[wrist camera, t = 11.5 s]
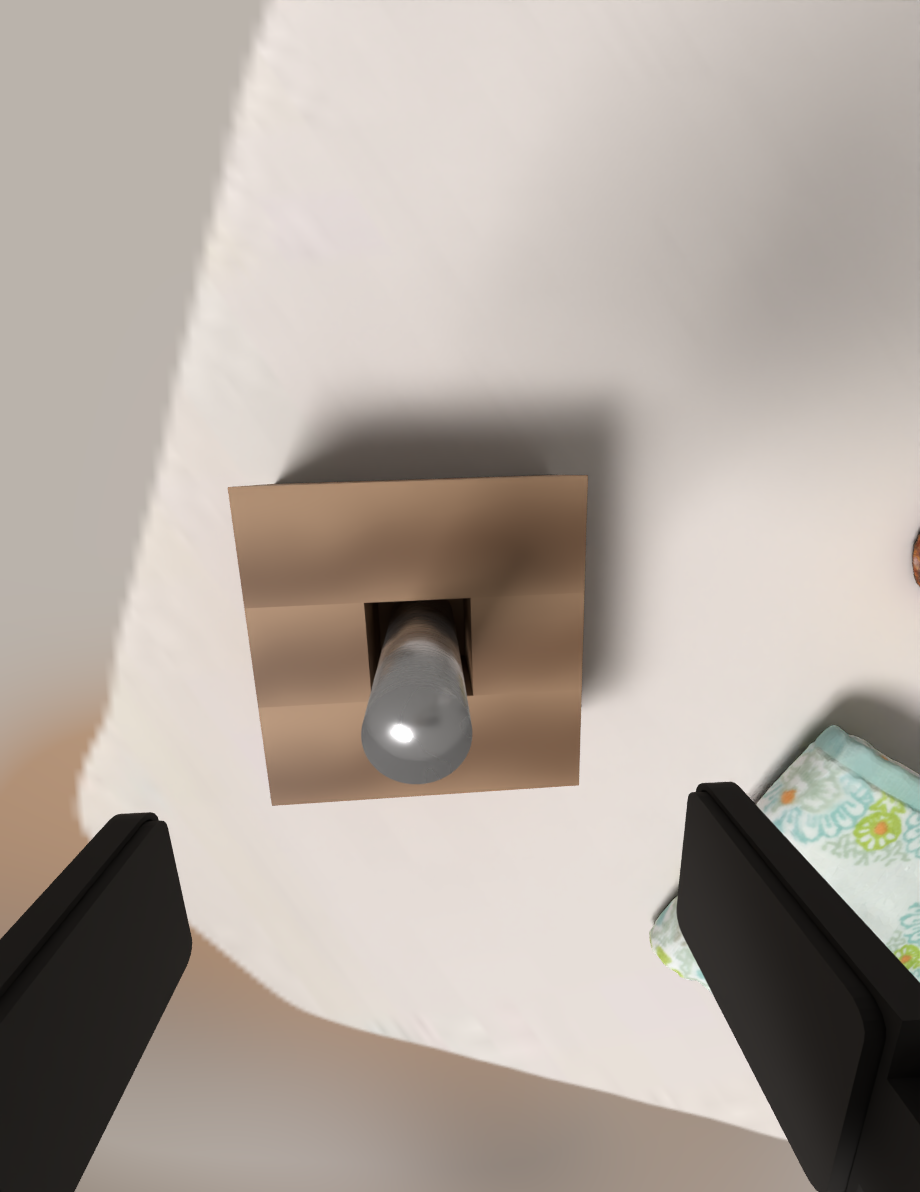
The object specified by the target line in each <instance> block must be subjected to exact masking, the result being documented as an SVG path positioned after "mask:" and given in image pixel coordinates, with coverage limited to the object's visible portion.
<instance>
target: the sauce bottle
mask: <svg viewBox="0 0 920 1192" xmlns="http://www.w3.org/2000/svg"><path fill="white" fill-rule="evenodd" d="M912 564H913V571H914V573H915V574H914V578H915V580H916V583H917V584H918V585H919V586H920V534H919V535H918V537H917V541H916V543H915V544H914V551H913V563H912Z"/></svg>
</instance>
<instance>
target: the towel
mask: <svg viewBox="0 0 920 1192" xmlns="http://www.w3.org/2000/svg"><path fill="white" fill-rule="evenodd" d="M756 805H757V806H758V808H759V809H760V810H761V811H762V812H763V813H764V814H765V815H766V816H767V817H768V818H769V819H770V821H771V822H772V823H773V824H774V825H775V826H776V827H777V828H778V829H779V830H780V831H781V832H782V834H783V835H784V836H785V837H786V838H787V839H788V840H789V841H790V842H791V843H792V844H793V845H794V847H795V848H796V849H797V850H798V851H799V852H800V853H801V854H802V855H803V856H804V857H805V858H806V860H807V861H808V862H809V863H810V864H811V865H812V866H813V867H814V868H815V869H816V870H817V871H818V873H819V874H820V875H821V876H822V877H823V878H824V879H825V880H826V881H827V882H828V883H829V884H830V886H831V887H832V888H833V889H834V890H835V891H836V892H837V893H838V894H839V895H840V896H841V897H842V899H843V900H844V901H845V902H846V903H847V904H848V905H849V906H850V907H851V908H852V909H853V910H854V912H855V913H856V914H857V915H858V916H859V917H860V918H861V919H862V920H863V921H864V922H865V923H866V925H867V926H868V927H869V928H870V929H871V930H872V931H873V932H874V933H875V934H876V935H877V937H878V938H879V939H880V940H881V941H882V942H883V943H884V944H885V945H886V946H887V947H888V948H889V950H890V951H891V952H892V953H893V954H894V955H895V956H896V957H897V958H898V959H899V960H900V961H901V963H902V964H903V965H904V966H905V967H906V968H907V969H908V970H909V971H910V972H911V973H912V974H913V976H914V977H915V978H916V979H917V980H918V981H919V982H920V774H918V773H916V772H915V771H913V770H911V769H910V768H908V767H906V766H905V765H903V764H901V763H900V762H897V761H895V760H892V759H890V758H889V757H887V756H886V755H884V754H883V753H881V752H880V751H878V750H876V749H875V748H874V747H873V746H872V745H871V744H869V743H868V742H867V741H866V740H865V739H861V738H859V737H857V736H854V735H849V734H848V733H846V732H845V731H844V730H842V729H841V728H840V727H839V726H836V725H832V726H830V727H828V728H827V729H825V730H824V731H823V732H822V733H821V734H820V735H819V736H818V737H817V739H816V740H815V742H813V743H811V744H810V745H809V746H808V748H807V749H806V750H805V751H804V752H803V753H802V754H801V755H800V756H799V757H798V758H797V759H796V760H795V761H794V762H793V763H792V764H791V765H790V766H789V767H788V769H787V770H786V771H785V772H784V773H783V774H782V775H781V776H780V778H779V779H778V780H777V781H776V782H775V783H774V784H773V785H772V786H771V787H770V788H769V790H768V791H767V792H766V793H765V794H764V795H763V797H762V798H761V799H760V800H759V801H758V802H757V804H756ZM677 898H678V896H677V897H676V898H675V899H673V900H672V902H671V903H670V904H669V905H668V906H667V907H666V909H665V910H664V911H663V912H662V913H661V914H660V916H659V917H658V919H657V920H656V921H655V925H654V926H653V928H652V929H651V930H650V932H649V935H650V944H651V948H652V950H653V952H654V953H655V954H656V955H657V956H658V957H659V958H660V959H661V961H662V962H663V963H664V964H665V965H666V966H667V967H668V968H670V969H672V970H673V971H676V972H677V973H678V974H679V976H680V977H682V978H684V979H687V980H696V981H698V982H700V983H701V984H702V985H703V986H704V987H705V988H706V989H708V990H709V991H710V992H711V990H710V988H709V986H708V984H707V982H706V980H705V978H704V976H703V974H702V972H701V970H700V968H699V966H698V964H697V962H696V960H695V958H694V957H693V955H692V953H691V951H690V949H689V947H688V945H687V943H686V941H685V939H684V937H683V935H682V933H681V931H680V928H679V924H678V920H677V913H676V908H677ZM711 993H712V992H711ZM712 994H713V993H712Z"/></svg>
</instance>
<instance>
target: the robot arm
mask: <svg viewBox="0 0 920 1192" xmlns="http://www.w3.org/2000/svg"><path fill="white" fill-rule="evenodd" d="M676 913H677V920H678V924H679V928H680V931H681V933H682V935H683V937H684V939H685V941H686V943H687V945H688V947H689V949H690V951H691V953H692V955H693V957H694V958H695V960H696V962H697V964H698V966H699V968H700V970H701V972H702V974H703V976H704V978H705V980H706V982H707V984H708V986H709V988H710V990H711V992H712V993H713V995H714V997H715V999H716V1001H717V1003H718V1005H719V1007H720V1009H721V1011H722V1013H723V1015H724V1017H725V1019H726V1021H727V1023H728V1025H729V1027H730V1028H731V1030H732V1032H733V1034H734V1036H735V1038H736V1040H737V1042H738V1044H739V1046H740V1048H741V1050H742V1052H743V1054H744V1056H745V1058H746V1060H747V1062H748V1063H749V1065H750V1067H751V1069H752V1071H753V1073H754V1075H755V1077H756V1079H757V1081H758V1083H759V1085H760V1087H761V1089H762V1091H763V1093H764V1095H765V1096H766V1098H767V1100H768V1102H769V1104H770V1106H771V1108H772V1110H773V1112H774V1114H775V1116H776V1118H777V1120H778V1122H779V1124H780V1126H781V1128H782V1130H783V1131H784V1133H785V1135H786V1137H787V1139H788V1141H789V1143H790V1145H791V1147H792V1149H793V1151H794V1153H795V1155H796V1157H797V1159H798V1160H799V1163H800V1165H801V1166H802V1168H803V1170H804V1172H805V1174H806V1176H807V1177H808V1179H809V1181H810V1183H811V1184H812V1185H813V1186H814V1188H815V1189H816V1190H817V1191H818V1192H920V982H919V981H918V980H917V979H916V978H915V977H914V976H913V974H912V973H911V972H910V971H909V970H908V969H907V968H906V967H905V966H904V965H903V964H902V963H901V961H900V960H899V959H898V958H897V957H896V956H895V955H894V954H893V953H892V952H891V951H890V950H889V948H888V947H887V946H886V945H885V944H884V943H883V942H882V941H881V940H880V939H879V938H878V937H877V935H876V934H875V933H874V932H873V931H872V930H871V929H870V928H869V927H868V926H867V925H866V923H865V922H864V921H863V920H862V919H861V918H860V917H859V916H858V915H857V914H856V913H855V912H854V910H853V909H852V908H851V907H850V906H849V905H848V904H847V903H846V902H845V901H844V900H843V899H842V897H841V896H840V895H839V894H838V893H837V892H836V891H835V890H834V889H833V888H832V887H831V886H830V884H829V883H828V882H827V881H826V880H825V879H824V878H823V877H822V876H821V875H820V874H819V873H818V871H817V870H816V869H815V868H814V867H813V866H812V865H811V864H810V863H809V862H808V861H807V860H806V858H805V857H804V856H803V855H802V854H801V853H800V852H799V851H798V850H797V849H796V848H795V847H794V845H793V844H792V843H791V842H790V841H789V840H788V839H787V838H786V837H785V836H784V835H783V834H782V832H781V831H780V830H779V829H778V828H777V827H776V826H775V825H774V824H773V823H772V822H771V821H770V819H769V818H768V817H767V816H766V815H765V814H764V813H763V812H762V811H761V810H760V809H759V808H758V806H757V805H756V804H755V803H754V802H753V801H752V800H751V799H750V798H749V797H748V796H747V795H746V793H745V792H744V791H743V790H742V789H741V788H740V787H739V786H738V785H737V784H735V783H733V782H717V783H702V784H699V785H698V787H697V789H696V792H692V793H690V794H689V796H688V802H687V811H686V821H685V831H684V840H683V850H682V860H681V869H680V879H679V889H678V898H677V908H676ZM191 950H192V937H191V933H190V928H189V923H188V919H187V914H186V909H185V905H184V900H183V896H182V891H181V886H180V882H179V877H178V873H177V868H176V863H175V859H174V854H173V849H172V845H171V840H170V836H169V831H168V827H167V824H166V823H165V822H164V821H159V820H158V817H157V816H156V815H155V813H151V812H149V813H130V814H118V815H115V816H114V817H113V818H111V819H110V820H109V821H108V822H107V823H106V825H105V826H104V827H103V828H102V829H101V830H100V831H99V832H98V833H97V834H96V835H95V837H94V838H93V839H92V840H91V841H90V842H89V843H88V844H87V845H86V846H85V848H84V849H83V850H82V851H81V852H80V853H79V854H78V855H77V856H76V857H75V859H73V861H72V862H71V863H70V864H69V865H68V866H67V867H66V868H65V869H64V870H63V872H62V873H61V874H60V875H59V876H58V877H57V878H56V879H55V880H54V881H53V882H52V884H51V885H50V886H49V887H48V888H47V889H46V890H45V891H44V892H43V893H42V895H41V896H40V897H39V898H38V899H37V900H36V901H35V902H34V903H33V904H32V906H30V908H29V909H28V910H27V911H26V912H25V913H24V914H23V915H22V916H21V917H20V918H19V920H18V921H17V922H16V923H15V924H14V925H13V926H12V927H11V928H10V929H9V931H8V932H7V933H6V934H5V935H4V936H3V937H2V938H1V939H0V1192H74V1191H75V1189H76V1187H77V1185H78V1183H79V1181H80V1179H81V1177H82V1175H83V1173H84V1171H85V1169H86V1167H87V1165H88V1163H89V1161H90V1159H91V1157H92V1155H93V1153H94V1151H95V1149H96V1147H97V1145H98V1143H99V1141H100V1139H101V1137H102V1135H103V1133H104V1131H105V1129H106V1127H107V1125H108V1123H109V1121H110V1119H111V1117H112V1115H113V1113H114V1111H115V1109H116V1107H117V1105H118V1103H119V1101H120V1099H121V1097H122V1095H123V1093H124V1091H125V1089H126V1087H127V1085H128V1083H129V1081H130V1079H131V1077H132V1075H133V1073H134V1071H135V1068H136V1067H137V1065H138V1063H139V1061H140V1059H141V1057H142V1055H143V1053H144V1051H145V1049H146V1046H147V1044H148V1043H149V1041H150V1039H151V1037H152V1035H153V1033H154V1030H155V1029H156V1026H157V1024H158V1023H159V1021H160V1018H161V1017H162V1014H163V1013H164V1011H165V1009H166V1007H167V1004H168V1003H169V1000H170V998H171V996H172V995H173V992H174V990H175V988H176V986H177V984H178V982H179V980H180V978H181V976H182V974H183V972H184V970H185V968H186V966H187V964H188V961H189V958H190V955H191Z"/></svg>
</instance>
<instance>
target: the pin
mask: <svg viewBox="0 0 920 1192" xmlns="http://www.w3.org/2000/svg"><path fill="white" fill-rule="evenodd" d="M361 741H362V746H363V749H364V752H365V754H366V756H367V758H368V760H369V761H370V763H371V764H372V765H373V766H374V767H375V768H376V769H377V770H378V771H379V772H380V773H382V774H383V775H385V776H386V777H388V778H390V779H392V780H395V781H398V782H401V783H406V784H426V783H431V782H435V781H437V780H440V779H442V778H444V777H446V776H448V775H449V774H451V773H452V772H453V771H455V770H456V769H457V768H458V767H459V766H460V765H461V764H462V762H463V761H464V759H465V758H466V756H467V754H468V752H469V749H470V747H471V742H472V724H471V718H470V712H469V706H468V700H467V694H466V688H465V682H464V676H463V670H462V664H461V658H460V652H459V646H458V640H457V634H456V628H455V622H454V616H453V611H452V607H451V605H450V603H449V601H448V600H447V599H437V600H415V601H396V603H395V605H394V607H393V610H392V614H391V618H390V621H389V625H388V629H387V633H386V637H385V640H384V644H383V648H382V652H381V655H380V659H379V663H378V667H377V671H376V674H375V678H374V682H373V686H372V690H371V693H370V697H369V701H368V705H367V708H366V712H365V716H364V720H363V724H362V729H361Z"/></svg>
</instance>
